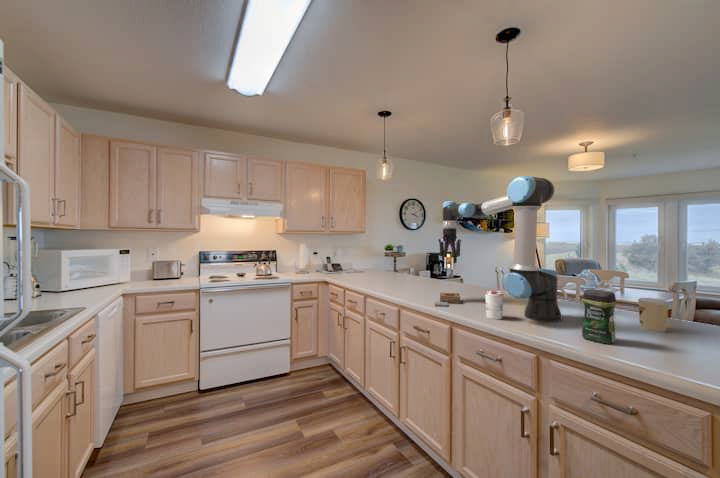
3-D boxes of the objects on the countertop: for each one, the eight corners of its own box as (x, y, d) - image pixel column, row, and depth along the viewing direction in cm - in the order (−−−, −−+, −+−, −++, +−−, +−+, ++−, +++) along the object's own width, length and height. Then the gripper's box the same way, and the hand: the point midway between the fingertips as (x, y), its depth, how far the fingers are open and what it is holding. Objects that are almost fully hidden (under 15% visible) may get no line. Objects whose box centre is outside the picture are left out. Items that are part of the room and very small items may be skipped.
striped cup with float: (508, 320, 144) (508, 294, 144) (489, 320, 144) (489, 294, 144) (498, 314, 154) (498, 290, 154) (481, 314, 154) (481, 290, 154)
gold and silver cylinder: (454, 278, 184) (454, 253, 183) (451, 278, 181) (451, 254, 181) (448, 277, 186) (448, 253, 186) (445, 278, 184) (445, 254, 183)
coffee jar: (578, 338, 119) (578, 289, 119) (589, 334, 123) (589, 287, 123) (609, 346, 111) (609, 293, 110) (619, 342, 115) (619, 291, 114)
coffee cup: (638, 324, 136) (639, 296, 136) (669, 328, 130) (669, 299, 129) (636, 329, 130) (636, 299, 130) (668, 334, 123) (668, 303, 123)
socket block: (460, 304, 177) (460, 297, 177) (440, 303, 180) (440, 296, 180) (459, 300, 188) (459, 293, 188) (440, 299, 191) (440, 292, 191)
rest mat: (447, 306, 171) (447, 304, 171) (434, 306, 173) (434, 304, 173) (447, 303, 178) (447, 302, 178) (434, 303, 180) (434, 301, 180)
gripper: (433, 228, 186) (433, 268, 187) (460, 227, 175) (460, 270, 175) (439, 228, 192) (440, 267, 192) (466, 227, 180) (466, 268, 180)
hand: (449, 268), depth 184 cm, fingers closed on gold and silver cylinder, 4 cm apart
